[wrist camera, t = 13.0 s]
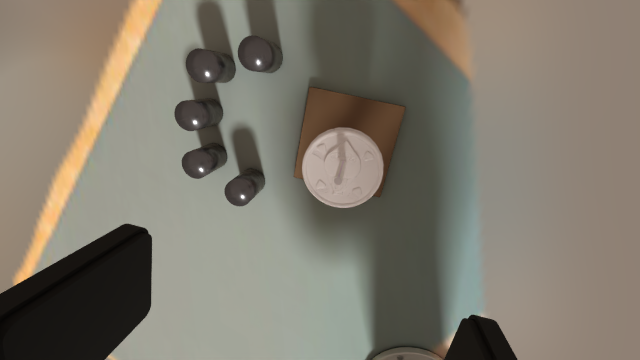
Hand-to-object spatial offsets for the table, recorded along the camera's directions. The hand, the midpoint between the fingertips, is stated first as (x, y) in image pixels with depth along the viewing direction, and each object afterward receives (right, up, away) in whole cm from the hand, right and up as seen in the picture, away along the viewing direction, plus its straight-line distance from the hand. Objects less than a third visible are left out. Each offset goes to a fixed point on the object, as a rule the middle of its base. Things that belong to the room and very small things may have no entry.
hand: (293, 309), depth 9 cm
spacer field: (-9, +11, +25) cm, 29 cm away
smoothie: (+4, +7, +23) cm, 25 cm away
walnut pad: (+4, +8, +24) cm, 26 cm away
